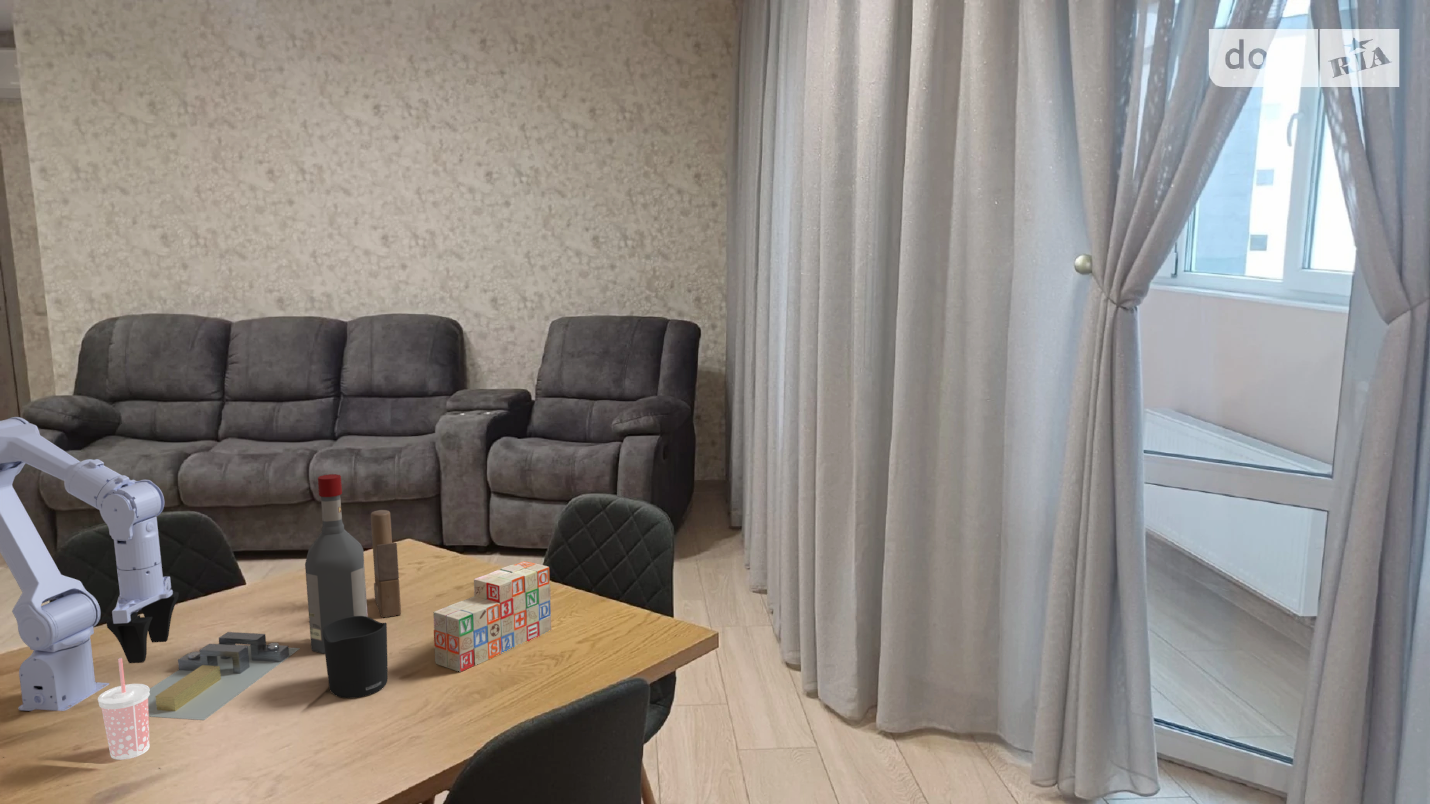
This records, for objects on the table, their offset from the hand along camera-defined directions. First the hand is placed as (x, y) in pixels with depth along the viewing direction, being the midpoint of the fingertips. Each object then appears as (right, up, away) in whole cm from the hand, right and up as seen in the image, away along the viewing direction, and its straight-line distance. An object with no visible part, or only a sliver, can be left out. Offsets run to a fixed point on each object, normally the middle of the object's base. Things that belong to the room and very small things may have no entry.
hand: (148, 651), depth 152 cm
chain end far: (+8, -5, +18) cm, 20 cm away
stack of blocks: (+47, -5, +23) cm, 53 cm away
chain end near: (+3, -6, +13) cm, 15 cm away
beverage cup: (+5, -11, -13) cm, 18 cm away
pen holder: (+29, -8, +8) cm, 31 cm away
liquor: (+20, -5, +24) cm, 32 cm away
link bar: (+4, -8, +4) cm, 10 cm away
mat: (+5, -7, +10) cm, 13 cm away
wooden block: (+22, -2, +42) cm, 47 cm away
